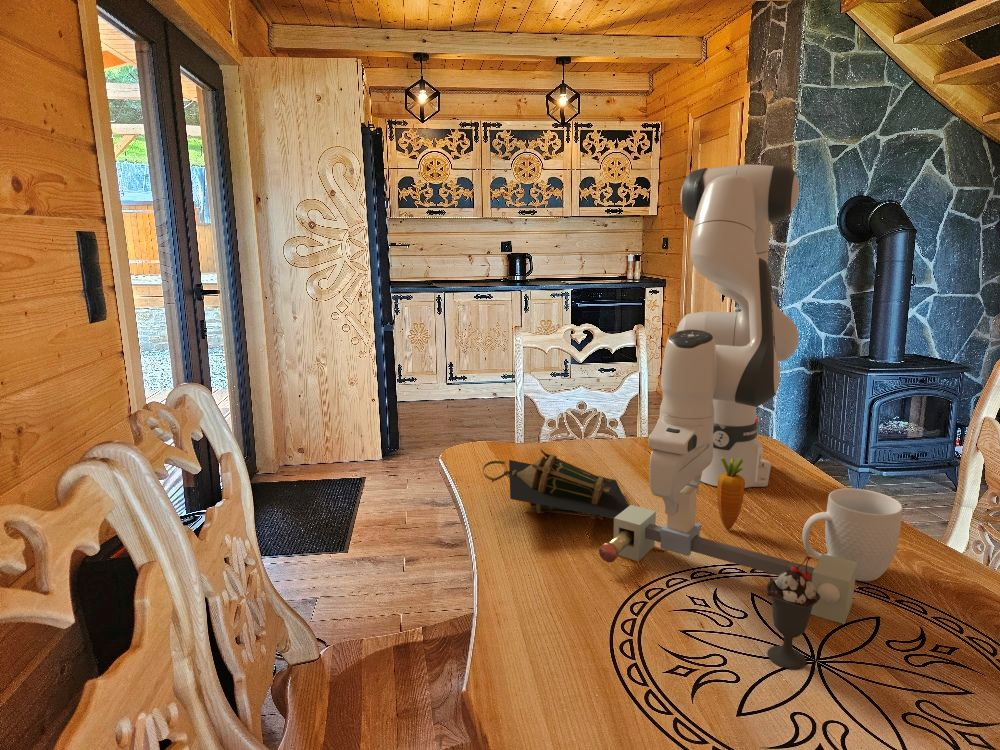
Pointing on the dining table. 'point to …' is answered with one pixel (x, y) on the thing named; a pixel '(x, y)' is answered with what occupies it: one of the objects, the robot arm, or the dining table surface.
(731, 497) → the carrot
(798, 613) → the sundae
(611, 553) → the cylinder
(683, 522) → the carriage
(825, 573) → the guide rail
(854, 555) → the mug
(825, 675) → the dining table surface
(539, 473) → the lantern
